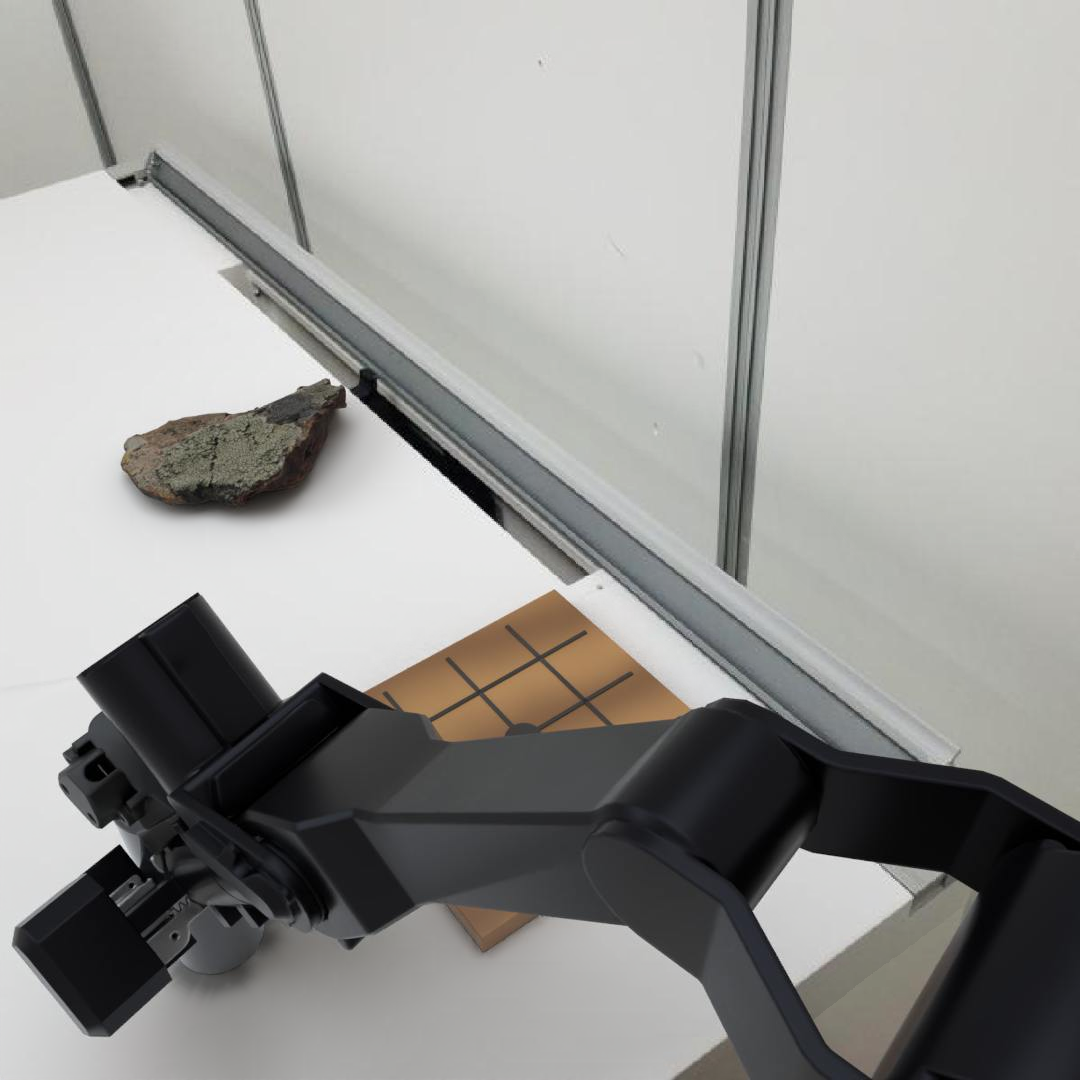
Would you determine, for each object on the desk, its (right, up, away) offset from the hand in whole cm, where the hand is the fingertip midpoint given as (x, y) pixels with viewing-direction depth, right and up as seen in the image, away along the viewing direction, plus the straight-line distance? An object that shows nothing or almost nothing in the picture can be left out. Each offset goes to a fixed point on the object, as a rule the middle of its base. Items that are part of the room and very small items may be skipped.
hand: (176, 853), depth 62 cm
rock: (-7, +24, +39) cm, 46 cm away
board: (+19, +3, +12) cm, 23 cm away
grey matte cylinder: (+1, -6, +4) cm, 7 cm away
